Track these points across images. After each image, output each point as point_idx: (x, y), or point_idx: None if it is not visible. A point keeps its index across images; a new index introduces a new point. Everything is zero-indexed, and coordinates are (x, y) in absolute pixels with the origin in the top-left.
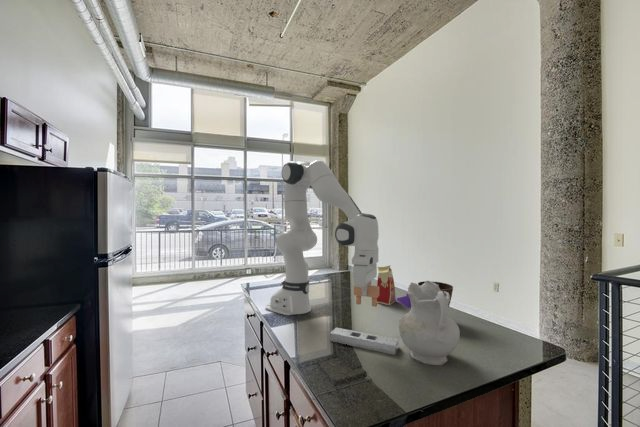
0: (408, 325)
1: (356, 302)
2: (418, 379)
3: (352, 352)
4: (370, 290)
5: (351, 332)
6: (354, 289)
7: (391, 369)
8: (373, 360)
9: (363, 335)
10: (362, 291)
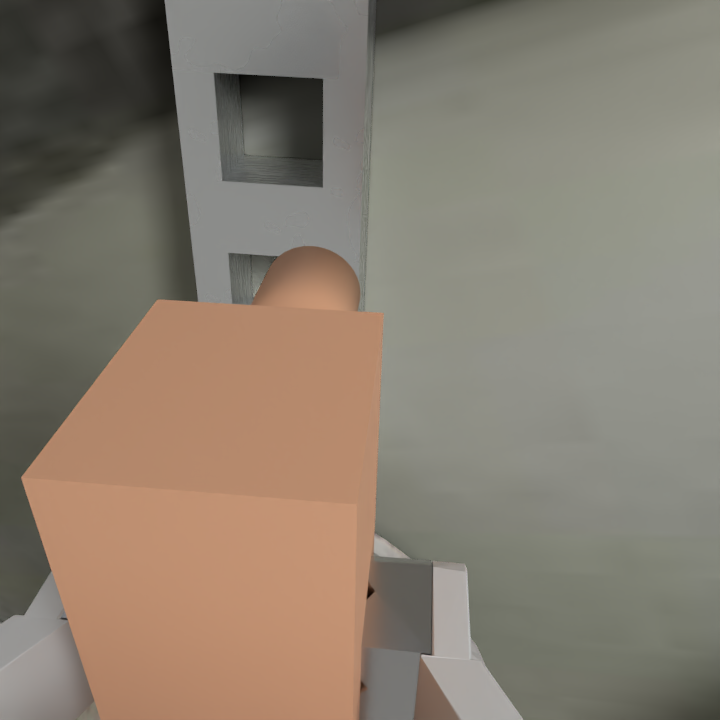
0: (91, 717)
1: (274, 267)
2: (36, 534)
3: (85, 136)
4: None
5: (303, 68)
6: (89, 412)
7: (38, 423)
8: (70, 315)
9: (288, 217)
10: (38, 607)
